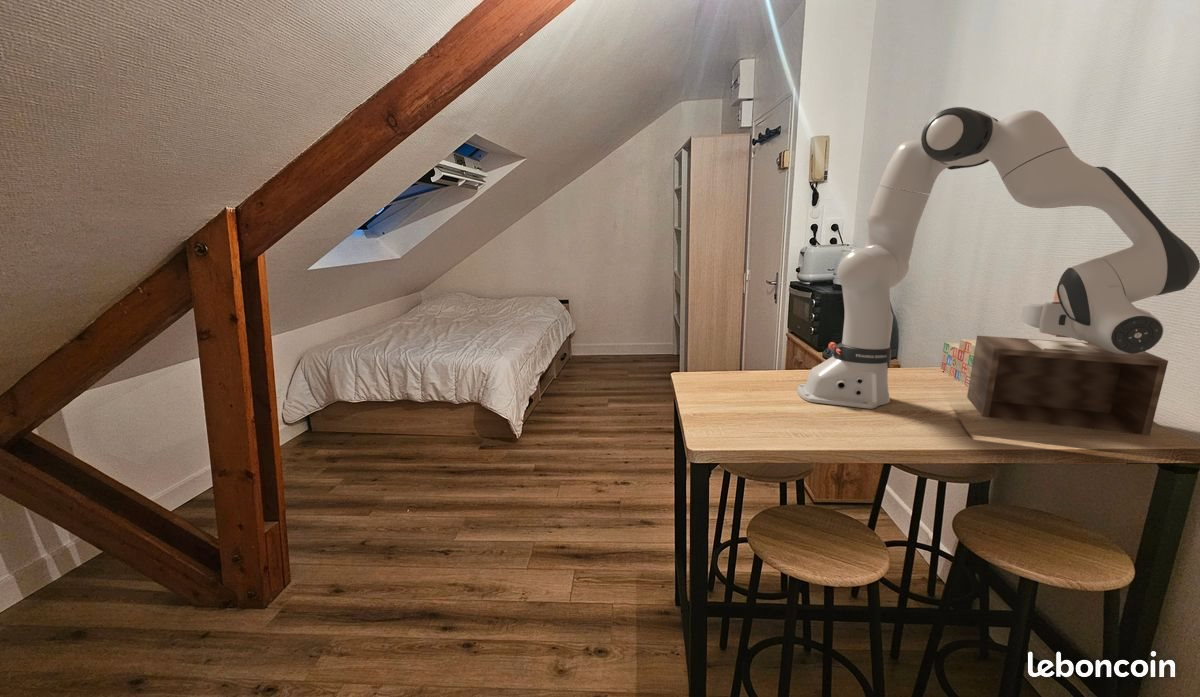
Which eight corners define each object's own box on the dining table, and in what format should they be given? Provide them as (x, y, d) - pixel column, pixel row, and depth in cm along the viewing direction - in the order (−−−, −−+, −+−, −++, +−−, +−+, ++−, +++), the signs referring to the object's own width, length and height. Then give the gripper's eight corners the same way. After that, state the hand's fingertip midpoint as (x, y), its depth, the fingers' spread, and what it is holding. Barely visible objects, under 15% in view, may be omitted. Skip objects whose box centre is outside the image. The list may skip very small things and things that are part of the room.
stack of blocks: (939, 371, 164) (945, 332, 161) (961, 371, 163) (968, 333, 160) (974, 391, 143) (982, 348, 141) (1000, 393, 142) (1008, 348, 140)
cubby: (981, 420, 122) (994, 347, 118) (966, 400, 136) (977, 334, 132) (1148, 439, 111) (1168, 359, 107) (1113, 416, 124) (1130, 344, 120)
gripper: (1169, 307, 101) (1131, 299, 114) (1037, 302, 109) (1016, 295, 121) (1161, 339, 103) (1125, 327, 115) (1032, 332, 110) (1011, 321, 123)
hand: (1068, 310), depth 118 cm, fingers closed on terracotta block, 5 cm apart
